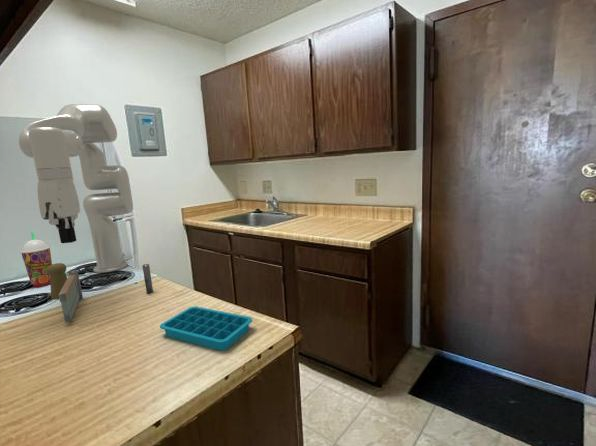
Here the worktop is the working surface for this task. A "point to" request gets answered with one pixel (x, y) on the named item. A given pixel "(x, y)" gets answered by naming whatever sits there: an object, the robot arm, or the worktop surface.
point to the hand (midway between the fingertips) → (68, 242)
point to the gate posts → (146, 276)
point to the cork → (57, 278)
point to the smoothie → (37, 261)
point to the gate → (69, 297)
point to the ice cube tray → (207, 327)
